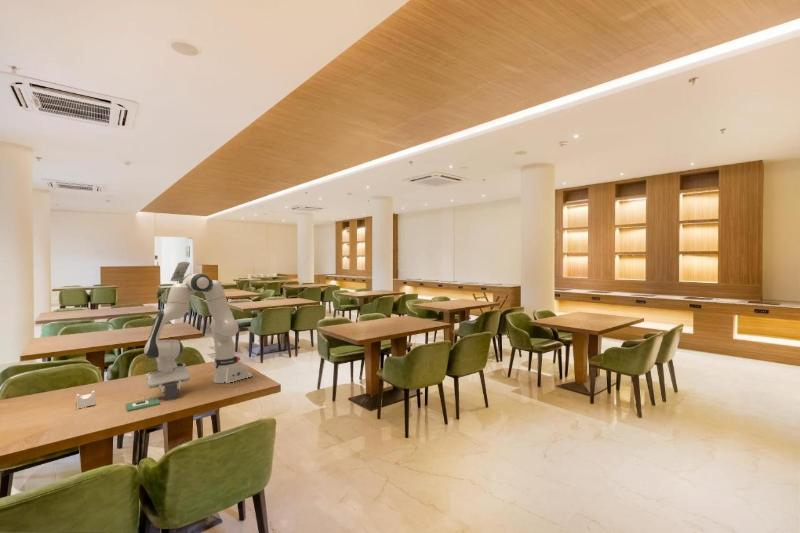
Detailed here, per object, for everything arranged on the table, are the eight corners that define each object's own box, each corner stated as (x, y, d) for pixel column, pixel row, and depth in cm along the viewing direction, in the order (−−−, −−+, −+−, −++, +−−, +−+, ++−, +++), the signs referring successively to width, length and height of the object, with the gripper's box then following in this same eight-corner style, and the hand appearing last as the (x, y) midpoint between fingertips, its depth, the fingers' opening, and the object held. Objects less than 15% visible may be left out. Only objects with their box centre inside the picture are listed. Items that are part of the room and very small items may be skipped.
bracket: (95, 406, 200) (94, 392, 200) (77, 410, 195) (76, 395, 195) (93, 399, 210) (93, 386, 210) (76, 403, 205) (76, 389, 205)
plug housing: (176, 396, 212) (175, 382, 211) (177, 398, 209) (177, 383, 209) (164, 398, 208) (164, 384, 208) (165, 400, 205) (165, 386, 205)
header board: (156, 398, 208) (156, 391, 208) (160, 404, 200) (159, 397, 200) (125, 405, 199) (125, 398, 199) (127, 411, 191) (127, 404, 191)
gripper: (145, 370, 207) (148, 392, 199) (188, 362, 220) (192, 383, 212) (145, 376, 210) (148, 398, 203) (186, 368, 223) (190, 389, 216)
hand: (171, 390), depth 208 cm, fingers closed on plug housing, 6 cm apart
